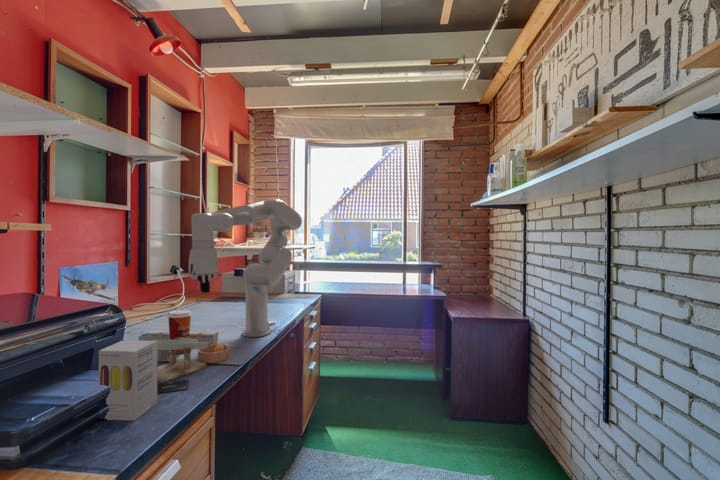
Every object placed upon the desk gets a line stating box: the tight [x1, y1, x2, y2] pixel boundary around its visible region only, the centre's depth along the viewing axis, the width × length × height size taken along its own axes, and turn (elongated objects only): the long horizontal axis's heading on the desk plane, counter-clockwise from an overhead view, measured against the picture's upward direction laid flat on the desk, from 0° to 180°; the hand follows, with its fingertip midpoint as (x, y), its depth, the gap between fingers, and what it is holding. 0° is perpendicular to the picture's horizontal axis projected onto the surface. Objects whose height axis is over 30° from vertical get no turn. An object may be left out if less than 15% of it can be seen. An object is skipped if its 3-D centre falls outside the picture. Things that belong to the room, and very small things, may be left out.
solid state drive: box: [157, 379, 190, 395], centre depth 102 cm, size 7×10×1 cm
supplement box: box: [97, 339, 158, 422], centre depth 88 cm, size 10×9×17 cm
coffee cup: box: [167, 309, 193, 355], centre depth 133 cm, size 8×8×15 cm
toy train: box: [137, 329, 219, 345], centre depth 143 cm, size 5×32×5 cm, turn 87°
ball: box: [214, 345, 225, 352], centre depth 128 cm, size 4×4×4 cm
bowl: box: [197, 343, 230, 364], centre depth 126 cm, size 10×10×4 cm
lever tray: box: [151, 337, 209, 362], centre depth 118 cm, size 17×15×6 cm
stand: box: [157, 347, 208, 383], centre depth 114 cm, size 15×11×8 cm
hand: (205, 292), depth 136 cm, fingers closed
